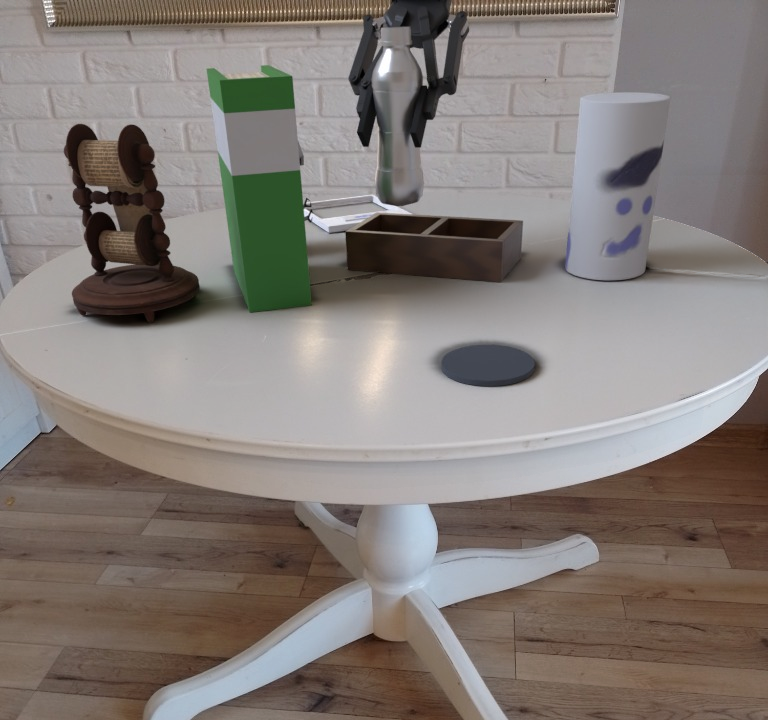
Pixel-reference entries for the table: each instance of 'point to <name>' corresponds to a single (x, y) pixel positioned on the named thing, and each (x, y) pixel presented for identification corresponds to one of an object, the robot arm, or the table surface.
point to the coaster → (488, 365)
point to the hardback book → (262, 185)
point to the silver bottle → (397, 119)
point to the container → (615, 183)
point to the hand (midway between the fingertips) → (388, 139)
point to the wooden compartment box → (435, 246)
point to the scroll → (124, 227)
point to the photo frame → (350, 220)
